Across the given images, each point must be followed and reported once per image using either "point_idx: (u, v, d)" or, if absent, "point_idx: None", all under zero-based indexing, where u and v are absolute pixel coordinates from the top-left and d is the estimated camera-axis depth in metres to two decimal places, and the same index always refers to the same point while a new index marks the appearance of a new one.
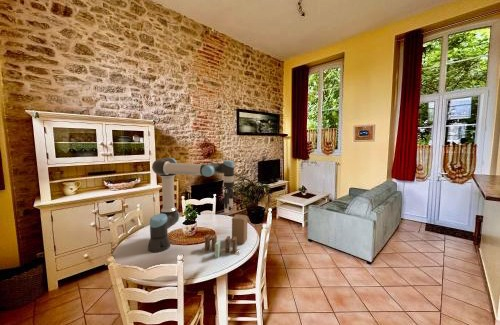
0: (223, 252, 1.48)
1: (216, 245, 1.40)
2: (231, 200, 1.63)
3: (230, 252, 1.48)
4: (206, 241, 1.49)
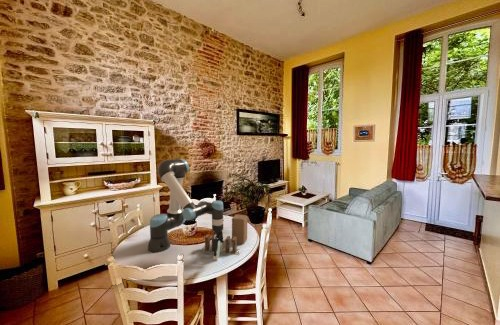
0: (223, 252, 1.48)
1: None
2: (220, 244, 1.48)
3: (230, 252, 1.48)
4: (206, 241, 1.49)
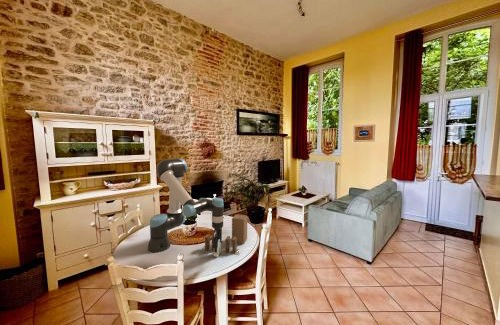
0: (223, 252, 1.48)
1: None
2: None
3: (230, 252, 1.48)
4: (206, 241, 1.49)
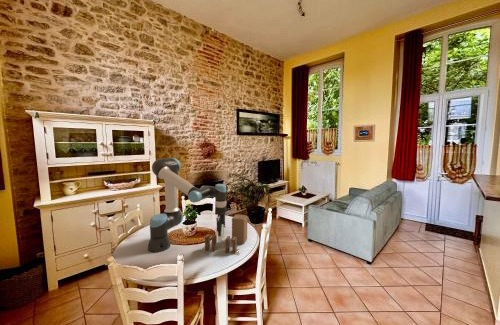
0: (223, 252, 1.48)
1: None
2: None
3: (230, 252, 1.48)
4: (206, 241, 1.49)
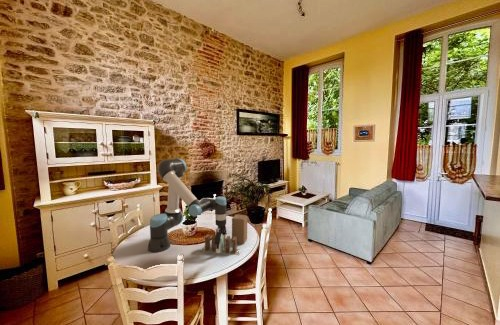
0: (223, 252, 1.48)
1: (220, 239, 1.48)
2: (224, 236, 1.56)
3: (230, 252, 1.48)
4: (206, 241, 1.49)
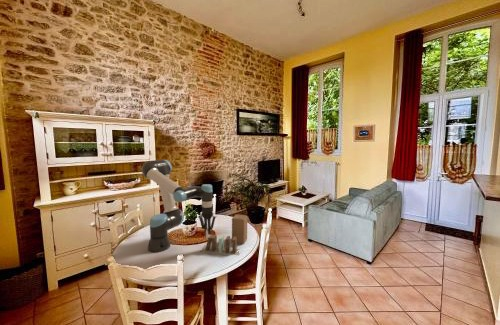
0: (223, 252, 1.48)
1: (220, 239, 1.48)
2: None
3: (230, 252, 1.48)
4: (208, 241, 1.49)
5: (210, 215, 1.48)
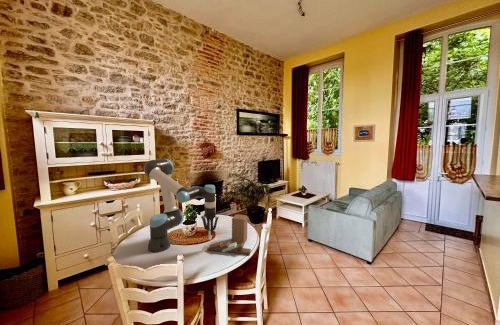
0: (223, 252, 1.48)
1: (233, 247, 1.46)
2: None
3: None
4: (216, 247, 1.48)
5: (213, 216, 1.48)
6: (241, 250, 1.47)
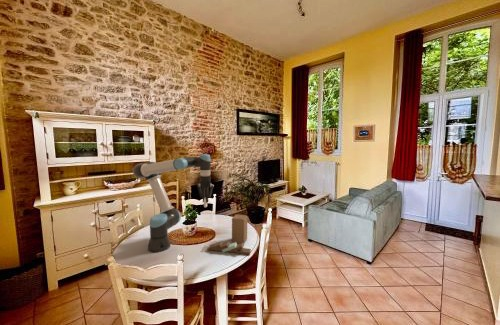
0: (223, 252, 1.48)
1: (233, 247, 1.46)
2: None
3: None
4: (216, 247, 1.48)
5: (208, 184, 1.54)
6: (241, 250, 1.47)
